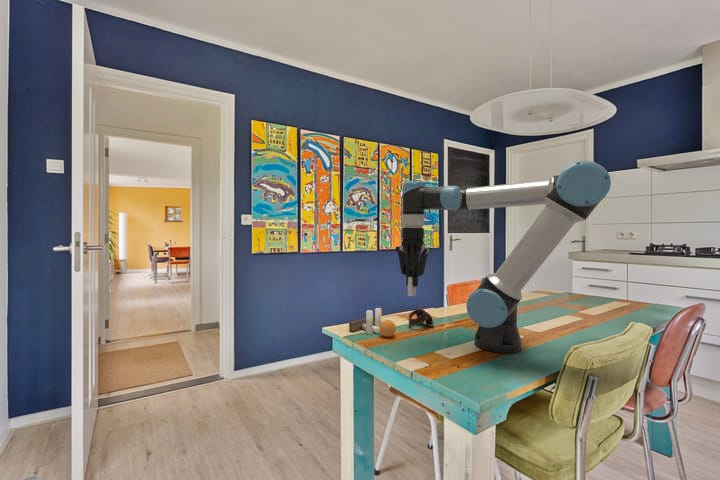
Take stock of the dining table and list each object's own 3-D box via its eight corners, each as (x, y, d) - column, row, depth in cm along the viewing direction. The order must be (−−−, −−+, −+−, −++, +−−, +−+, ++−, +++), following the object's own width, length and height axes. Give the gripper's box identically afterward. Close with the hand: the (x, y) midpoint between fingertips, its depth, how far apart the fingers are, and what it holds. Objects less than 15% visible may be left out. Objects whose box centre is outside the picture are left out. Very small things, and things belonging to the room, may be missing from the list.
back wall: (375, 325, 146) (375, 317, 145) (352, 332, 136) (352, 323, 136) (371, 324, 147) (371, 316, 147) (349, 331, 137) (349, 322, 137)
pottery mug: (437, 331, 140) (429, 314, 138) (415, 341, 142) (406, 324, 140) (432, 316, 152) (424, 300, 149) (412, 325, 153) (403, 309, 151)
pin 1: (373, 333, 135) (374, 310, 135) (369, 334, 134) (369, 312, 133) (369, 332, 137) (369, 309, 137) (364, 333, 135) (365, 310, 135)
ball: (383, 324, 137) (393, 337, 134) (373, 329, 132) (384, 342, 130) (390, 314, 134) (401, 326, 131) (381, 319, 129) (392, 332, 127)
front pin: (383, 327, 135) (365, 322, 141) (378, 329, 134) (361, 324, 139) (383, 333, 136) (366, 328, 141) (379, 335, 134) (362, 330, 140)
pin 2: (382, 330, 139) (382, 308, 139) (378, 331, 137) (378, 309, 137) (377, 329, 141) (378, 307, 140) (373, 330, 139) (373, 308, 139)
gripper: (435, 227, 122) (434, 296, 123) (403, 226, 131) (402, 291, 132) (423, 227, 117) (421, 300, 118) (391, 226, 125) (390, 294, 127)
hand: (411, 295), depth 125 cm, fingers closed
